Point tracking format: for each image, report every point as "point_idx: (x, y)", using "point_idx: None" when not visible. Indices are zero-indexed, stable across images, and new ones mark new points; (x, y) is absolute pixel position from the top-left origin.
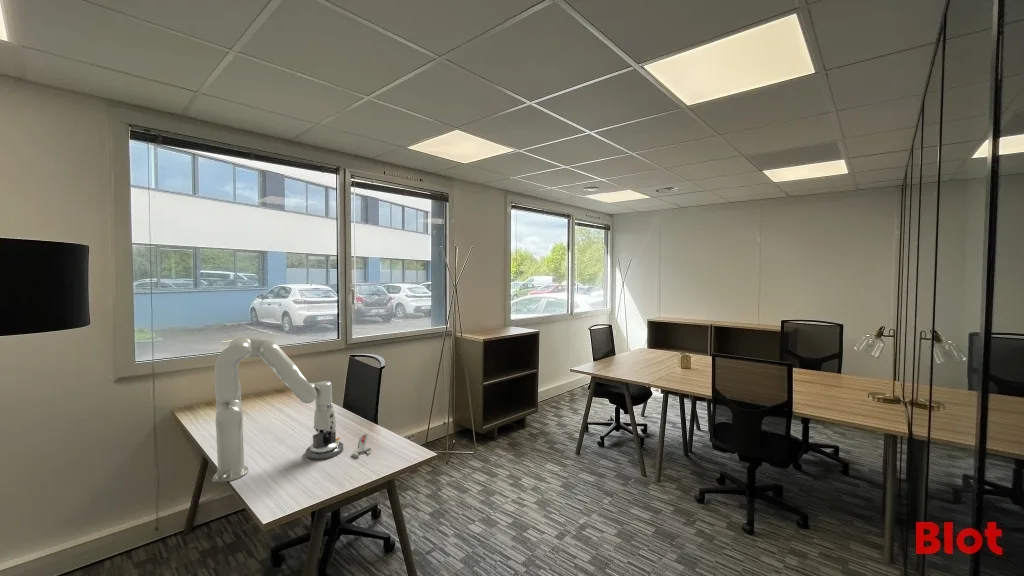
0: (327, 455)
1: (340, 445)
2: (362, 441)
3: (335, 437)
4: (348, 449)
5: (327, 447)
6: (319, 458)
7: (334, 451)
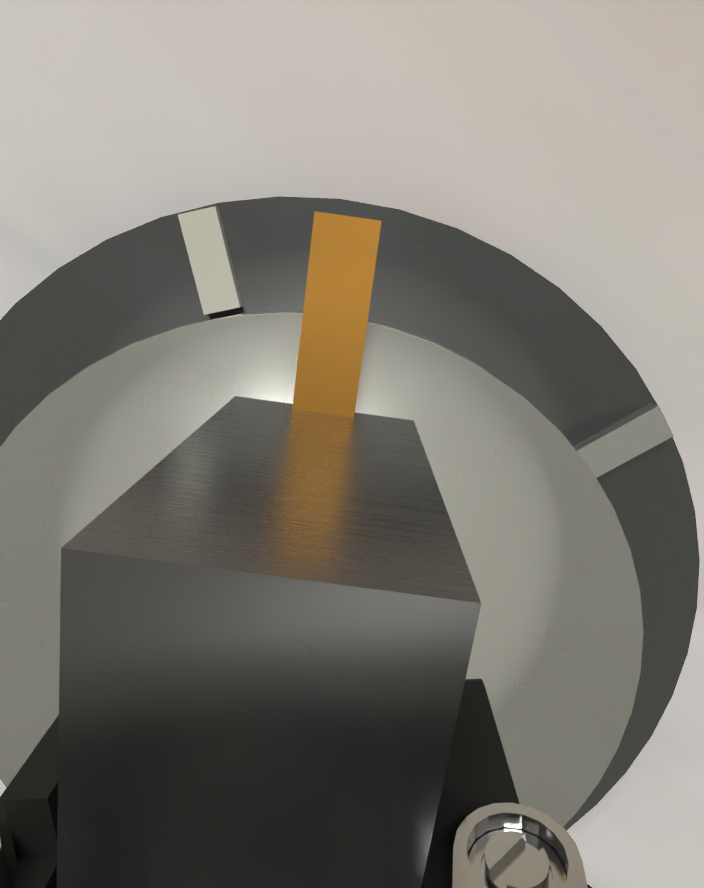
0: (612, 772)
1: (529, 357)
2: None
3: (426, 464)
4: (679, 267)
5: (509, 748)
6: None
7: None
